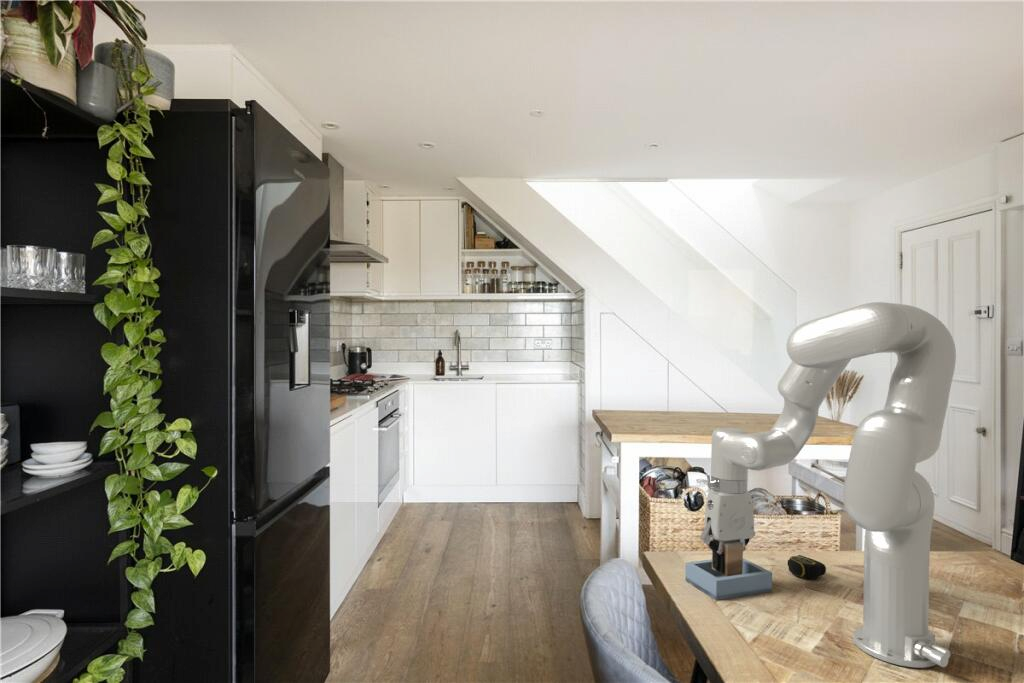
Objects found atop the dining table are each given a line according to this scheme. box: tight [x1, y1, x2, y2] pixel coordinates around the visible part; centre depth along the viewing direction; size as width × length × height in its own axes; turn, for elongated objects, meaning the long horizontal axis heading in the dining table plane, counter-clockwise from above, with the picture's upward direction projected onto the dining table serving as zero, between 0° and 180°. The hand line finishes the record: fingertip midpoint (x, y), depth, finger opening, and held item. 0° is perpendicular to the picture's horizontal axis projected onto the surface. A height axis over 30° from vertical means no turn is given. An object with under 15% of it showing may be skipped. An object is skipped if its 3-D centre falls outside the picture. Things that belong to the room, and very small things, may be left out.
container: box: [685, 557, 773, 601], centre depth 128 cm, size 10×14×4 cm
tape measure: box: [787, 554, 827, 579], centre depth 135 cm, size 7×7×4 cm
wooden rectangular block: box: [711, 540, 744, 577], centre depth 129 cm, size 5×4×7 cm
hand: (727, 567), depth 129 cm, fingers closed on wooden rectangular block, 4 cm apart
